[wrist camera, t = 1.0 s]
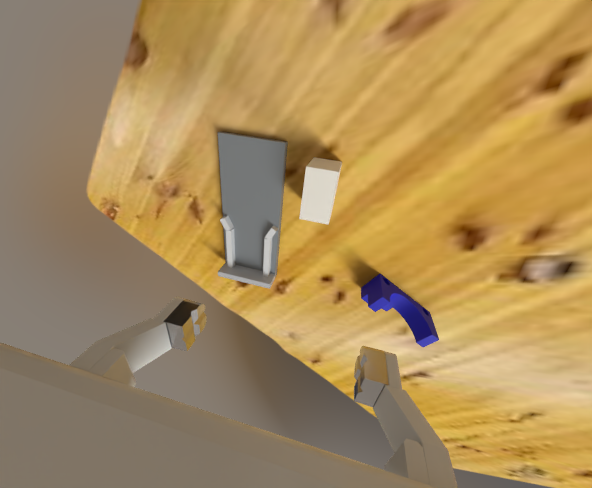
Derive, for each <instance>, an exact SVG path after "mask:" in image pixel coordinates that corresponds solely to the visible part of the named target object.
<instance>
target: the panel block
mask: <svg viewBox="0 0 592 488" xmlns="http://www.w3.org/2000/svg"><path fill="white" fill-rule="evenodd" d="M341 165H342V162H340V161H334V160H328V159H322V158H316V157H314V158H313V159H312V160H311V161H310V163H309V164H308V165H307V166H306V171H305V179H304V187H303V195H302V203H301V210H300V218H299V219H303V220H308V221H313V222H318V223H323V224H329V221H330V217H331V213H332V209H333V204H334V200H335V195H336V190H337V185H338V180H339V175H340V170H341Z"/></svg>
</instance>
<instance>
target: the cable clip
mask: <svg viewBox="0 0 592 488" xmlns="http://www.w3.org/2000/svg"><path fill="white" fill-rule="evenodd" d="M361 298H362V299H363V300H364V301H366V302H367V303H368V307H369V308H371V309H372V310H373V311H375V312H376V311H378V310H379V309H381V308H382V309H384V310H385V311H388V310H389V309H391V308H394V309H396V310H397V311H398V312H399V313H400V314H401V316H402V317H403V318H404V319H405V321H406V322H407V323H408V325H409V327H410V328H411V330H412V332H413V334H414V337H415V339H416V343H418V344H419V345H420V346H422V347H425V346H427V345H429V344H431V343H433V342H435V341H438V340H439V338H438V335H437V332H436V329H435V326H434V323H433V320H432V317H431V314H430V312H429V311H427V310H426V309H425V308H423V307H422V306H421V305H420V304H418V303H417V302H416V301H414V300H413V299H412V298H411V297H409V296H408V295H407V294H406V293H404V292H403V291H402V290H400V289H399V288H398V287H397V286H395V285H394V284H393V283H391V282H390V281H389V280H388V279H386V278H385V277H384V276H382V275H381V274H379V275H377V276H376V277H375V278H373V279H372V280H371V281H369V282H368V283H367V284H365V285H364V286H363V287H361Z"/></svg>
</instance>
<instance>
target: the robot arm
mask: <svg viewBox="0 0 592 488" xmlns="http://www.w3.org/2000/svg"><path fill="white" fill-rule="evenodd" d="M204 310H205V305H204V304H201V303H198V302H194V301H191V300H188V299H184V298H180V297H176V298H174V299H173V300H172V301H171V302H170V303H169V304H168V305H167V306H166V307H165V308H164V309H163V310H162V311H161V312H160V313H159V314H158V315H157V316H156V317H155V318H154V319H148V320H146V321H143V322H141V323H138V324H136V325H134V326H131V327H129V328H127V329H124V330H122V331H119V332H117V333H115V334H113V335H110V336H108V337H105V338H103V339H101V340H98V341H96V342H95V343H94V344H93V345H92V346H90V347H89V348H88V349H87V350H86V351H85V352H84V353H82V354H81V355H80V356H79V357H78V358H77V359H76V360H74V361H73V362H72V363H71V364H70V365H66V364H63V363H60V362H57V361H54V360H51V359H48V358H45V357H42V356H39V355H36V354H33V353H30V352H27V351H24V350H21V349H18V348H15V347H12V346H10V345H7V344H4V343H0V488H458V487H457V483H456V479H455V475H454V472H453V468H452V464H451V460H450V457H449V453H448V450H447V448H446V447H445V446H444V444H443V443H442V441H441V440H440V439H439V437H438V436H437V434H436V433H435V431H434V430H433V429H432V427H431V426H430V424H429V423H428V422H427V420H426V419H425V417H424V416H423V415H422V413H421V412H420V410H419V409H418V407H417V406H416V405H415V403H414V402H413V400H412V399H411V398H410V396H409V395H408V393H407V392H406V391H405V390H402V386H401V379H400V373H399V367H398V361H397V356H396V355H395V354H392V353H388V352H385V351H382V350H378V349H374V348H370V347H366V346H362V347H361V349H360V356H358V357H357V360H356V364H355V375H354V377H355V379H356V380H357V381H356V383H355V386H354V401H355V402H358V403H362V404H365V405H368V406H371V407H373V410H374V412H375V414H376V416H377V418H378V420H379V422H380V424H381V426H382V428H383V430H384V433H385V435H386V436H387V439H388V441H389V443H390V445H391V447H392V449H393V451H394V455H393V456H392V457H391V458H390V459H389V461H388V462H387V463H386V465H385V470H382V469H379V468H376V467H373V466H370V465H367V464H364V463H361V462H358V461H355V460H352V459H349V458H346V457H343V456H340V455H337V454H334V453H331V452H328V451H325V450H322V449H319V448H316V447H313V446H310V445H307V444H304V443H301V442H298V441H295V440H292V439H289V438H286V437H283V436H280V435H277V434H274V433H271V432H268V431H265V430H262V429H259V428H255V427H253V426H250V425H247V424H243V423H241V422H238V421H235V420H232V419H229V418H226V417H223V416H220V415H217V414H214V413H211V412H208V411H205V410H202V409H199V408H195V407H193V406H190V405H187V404H184V403H181V402H178V401H175V400H172V399H169V398H166V397H163V396H160V395H157V394H154V393H151V392H148V391H145V390H142V389H139V388H136V387H134V386H135V385H136V379H135V377H134V375H133V373H134V372H135V371H136V370H138V369H140V368H141V367H143V366H144V365H146V364H148V363H149V362H151V361H152V360H154V359H156V358H157V357H159V356H160V355H162V354H163V353H165V352H167V351H168V350H170V349H171V348H172V347H173V348H176V349H180V350H184V351H188V350H189V348H190V347H191V345H192V344H193V342H194V341H195V336H196V335H198V334H200V333H201V331H202V330H203V329H204V326H205V324H206V315H205V313H204Z"/></svg>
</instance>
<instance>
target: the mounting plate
mask: <svg viewBox="0 0 592 488" xmlns="http://www.w3.org/2000/svg"><path fill="white" fill-rule="evenodd" d="M218 144H219V161H220V177H221V193H222V209H223V217H222V218H221V219H220V221H221V223H222V225H223V227H224V242H225V258H226V263H225V264H224V265H223V266H222V267H221V269H220V270H219V271H218V276H221V277H225V278H229V279H233V280H237V281H241V282H245V283H249V284H253V285H257V286H262V287H266V288H270V287H271V285H272V283H273V281H274V279H275V277H276V275H277V266H278V254H279V242H280V229H281V217H282V205H283V193H284V181H285V169H286V157H287V145H288V142H286V141H280V140H273V139H267V138H260V137H254V136H247V135H241V134H234V133H228V132H218Z"/></svg>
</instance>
